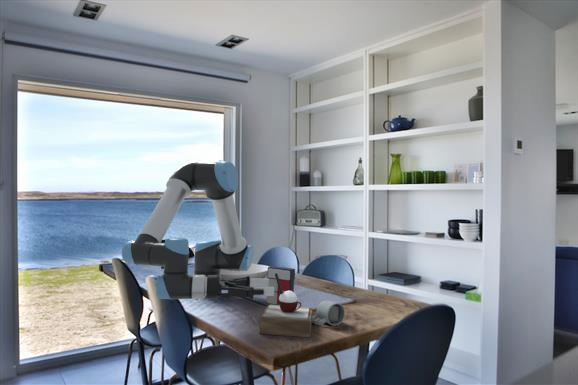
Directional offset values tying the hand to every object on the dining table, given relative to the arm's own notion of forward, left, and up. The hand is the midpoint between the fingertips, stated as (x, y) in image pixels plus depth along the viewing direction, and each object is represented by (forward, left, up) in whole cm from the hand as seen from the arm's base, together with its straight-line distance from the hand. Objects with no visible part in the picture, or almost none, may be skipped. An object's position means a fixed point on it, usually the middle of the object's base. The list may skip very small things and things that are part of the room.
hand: (271, 286), depth 137 cm
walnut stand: (-2, +6, -14) cm, 15 cm away
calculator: (-31, 0, -14) cm, 34 cm away
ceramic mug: (-10, +19, -14) cm, 25 cm away
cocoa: (-2, +6, -8) cm, 10 cm away
